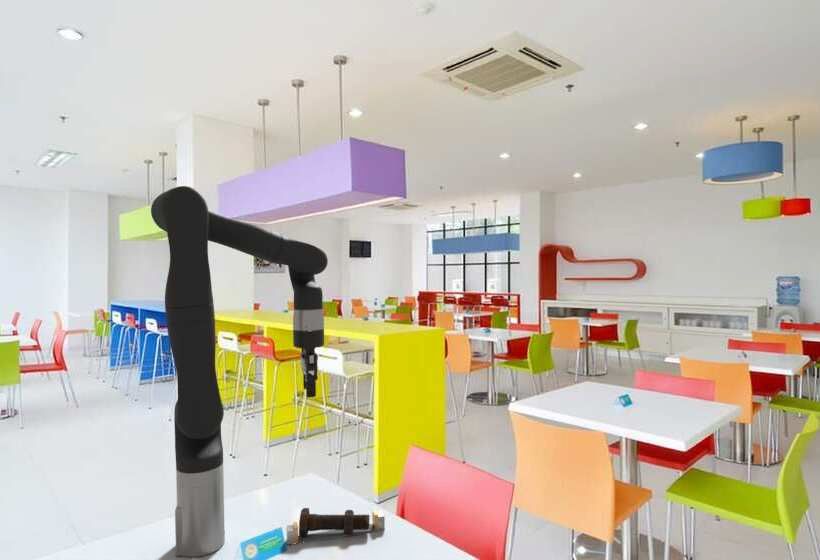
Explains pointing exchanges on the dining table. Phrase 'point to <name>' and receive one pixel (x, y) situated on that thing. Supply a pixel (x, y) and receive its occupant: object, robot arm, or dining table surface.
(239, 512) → the dining table surface
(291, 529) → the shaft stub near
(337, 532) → the pad
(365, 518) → the bolt
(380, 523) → the small wooden block
